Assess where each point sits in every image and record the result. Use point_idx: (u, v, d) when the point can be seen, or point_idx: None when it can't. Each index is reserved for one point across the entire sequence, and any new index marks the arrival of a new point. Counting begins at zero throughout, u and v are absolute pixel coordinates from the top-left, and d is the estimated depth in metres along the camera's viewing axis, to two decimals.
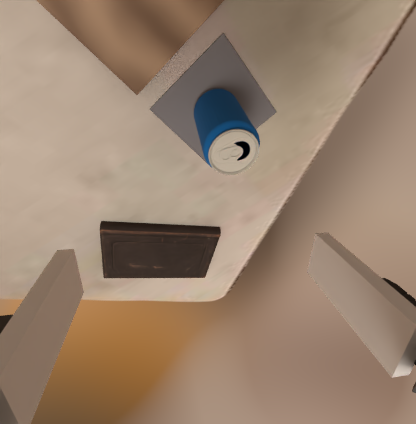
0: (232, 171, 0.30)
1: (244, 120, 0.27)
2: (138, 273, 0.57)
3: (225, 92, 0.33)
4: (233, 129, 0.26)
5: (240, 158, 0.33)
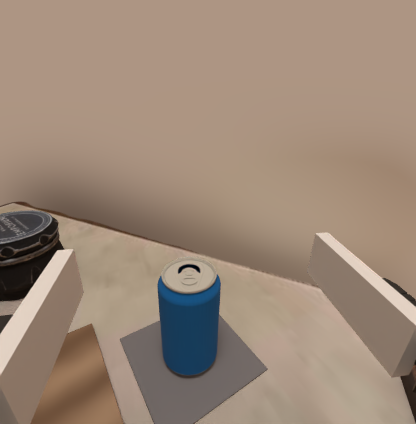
0: (213, 276, 0.26)
1: None
2: None
3: None
4: (162, 272, 0.26)
5: None
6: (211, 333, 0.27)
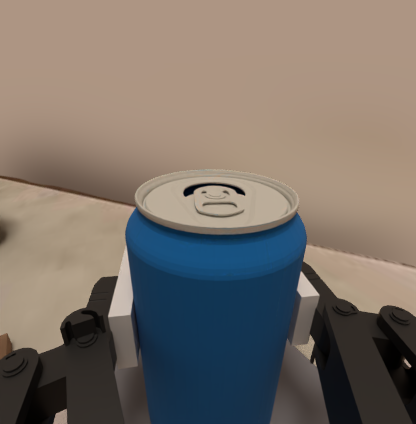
0: (285, 200, 0.09)
1: None
2: None
3: None
4: (139, 193, 0.09)
5: None
6: (277, 364, 0.10)
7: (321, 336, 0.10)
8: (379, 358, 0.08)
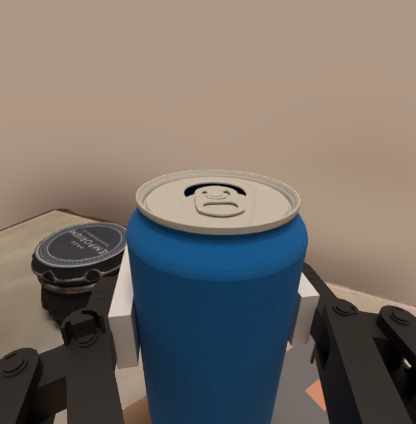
0: (286, 201, 0.09)
1: None
2: None
3: None
4: (140, 193, 0.09)
5: None
6: (278, 364, 0.10)
7: (321, 336, 0.10)
8: (379, 358, 0.08)
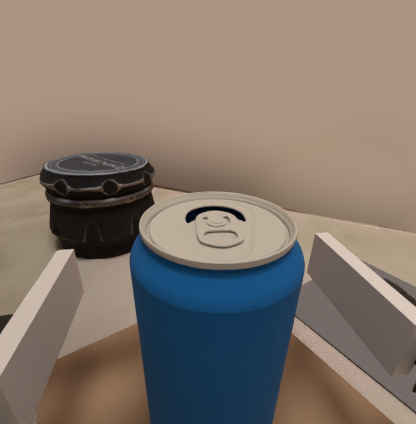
0: (284, 228, 0.09)
1: None
2: None
3: None
4: None
5: None
6: (276, 384, 0.10)
7: None
8: None
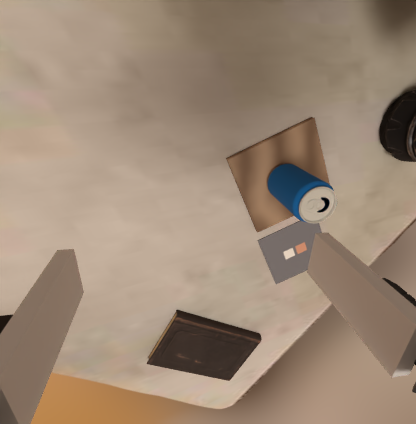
0: (310, 220, 0.37)
1: None
2: (179, 364, 0.62)
3: None
4: (325, 186, 0.35)
5: None
6: (281, 203, 0.42)
7: None
8: None
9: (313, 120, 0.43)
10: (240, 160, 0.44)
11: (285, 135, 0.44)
